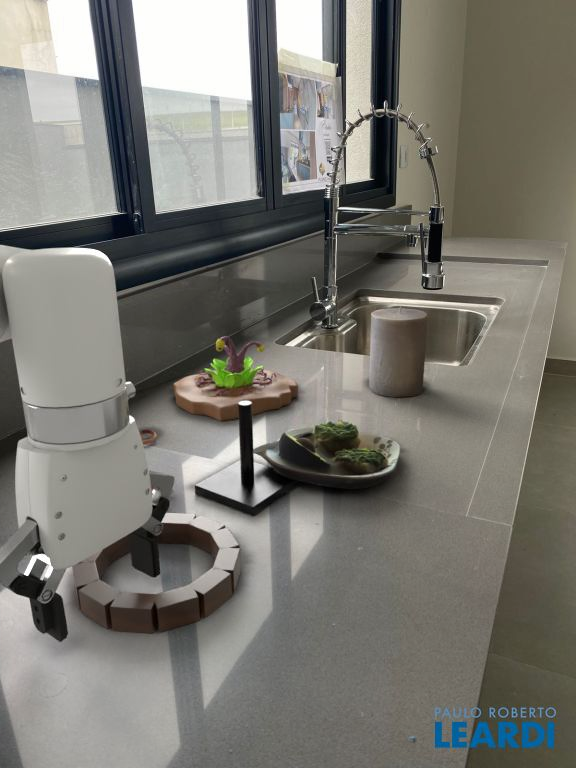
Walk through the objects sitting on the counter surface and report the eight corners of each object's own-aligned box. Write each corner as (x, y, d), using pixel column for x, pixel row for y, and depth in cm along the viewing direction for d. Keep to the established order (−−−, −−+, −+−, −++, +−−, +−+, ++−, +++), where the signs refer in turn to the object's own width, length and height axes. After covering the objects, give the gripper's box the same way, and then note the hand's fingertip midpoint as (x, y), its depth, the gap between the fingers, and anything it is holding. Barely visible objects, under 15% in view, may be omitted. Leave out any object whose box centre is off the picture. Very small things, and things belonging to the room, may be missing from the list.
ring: (42, 588, 56) (39, 566, 55) (163, 518, 67) (162, 499, 66) (154, 659, 47) (152, 634, 47) (270, 564, 59) (270, 543, 58)
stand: (195, 494, 72) (189, 406, 69) (243, 466, 79) (240, 385, 76) (253, 516, 67) (250, 423, 64) (299, 485, 74) (299, 399, 71)
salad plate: (292, 425, 92) (293, 396, 91) (410, 443, 86) (413, 412, 85) (241, 472, 74) (242, 437, 73) (386, 498, 69) (389, 460, 67)
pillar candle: (433, 388, 108) (439, 305, 103) (403, 402, 102) (408, 314, 97) (388, 376, 115) (392, 298, 110) (357, 389, 108) (359, 306, 103)
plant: (153, 397, 105) (147, 334, 101) (240, 373, 118) (238, 316, 114) (224, 429, 91) (220, 357, 88) (314, 397, 104) (314, 334, 100)
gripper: (133, 376, 55) (149, 539, 60) (-62, 440, 42) (-19, 641, 47) (193, 391, 51) (204, 565, 56) (-3, 468, 38) (37, 685, 43)
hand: (103, 599), depth 52 cm, fingers open, 9 cm apart
